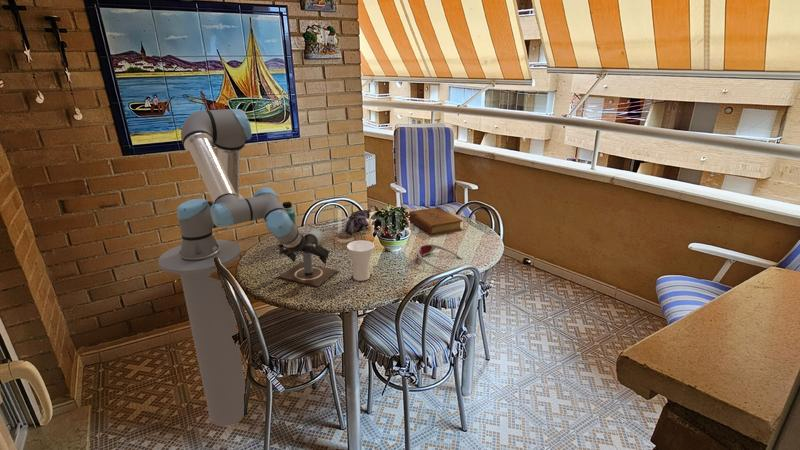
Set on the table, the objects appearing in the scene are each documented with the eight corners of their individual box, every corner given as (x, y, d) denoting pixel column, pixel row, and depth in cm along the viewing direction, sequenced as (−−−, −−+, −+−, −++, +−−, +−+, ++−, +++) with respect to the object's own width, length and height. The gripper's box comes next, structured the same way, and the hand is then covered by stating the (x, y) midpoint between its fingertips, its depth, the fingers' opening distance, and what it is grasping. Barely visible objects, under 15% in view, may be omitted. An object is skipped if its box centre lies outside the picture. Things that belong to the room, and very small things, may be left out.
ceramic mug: (325, 243, 192) (323, 227, 189) (318, 250, 184) (317, 234, 182) (304, 241, 194) (302, 226, 191) (296, 248, 186) (295, 232, 184)
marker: (302, 274, 161) (300, 246, 157) (307, 270, 164) (305, 243, 160) (309, 275, 160) (307, 247, 155) (314, 272, 163) (312, 244, 158)
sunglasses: (425, 249, 185) (428, 239, 183) (460, 263, 179) (462, 253, 177) (408, 263, 171) (410, 253, 169) (445, 279, 165) (447, 268, 163)
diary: (408, 221, 220) (408, 211, 218) (438, 216, 228) (438, 206, 226) (430, 236, 201) (430, 225, 199) (461, 230, 209) (462, 219, 207)
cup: (360, 268, 167) (359, 238, 163) (380, 275, 162) (379, 244, 157) (342, 278, 159) (341, 246, 155) (363, 286, 154) (362, 253, 149)
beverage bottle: (289, 239, 196) (285, 199, 189) (300, 241, 193) (297, 201, 186) (280, 244, 191) (276, 203, 184) (291, 246, 188) (287, 205, 181)
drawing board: (279, 277, 160) (278, 276, 159) (301, 263, 172) (301, 262, 171) (317, 287, 153) (317, 285, 152) (337, 271, 165) (337, 270, 164)
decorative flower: (343, 207, 211) (370, 201, 208) (351, 225, 217) (378, 218, 214) (338, 224, 199) (366, 217, 196) (347, 242, 206) (375, 236, 202)
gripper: (256, 246, 143) (279, 266, 163) (323, 250, 140) (338, 270, 160) (261, 227, 146) (283, 248, 166) (327, 230, 143) (341, 252, 163)
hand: (310, 259), depth 163 cm, fingers open, 12 cm apart
